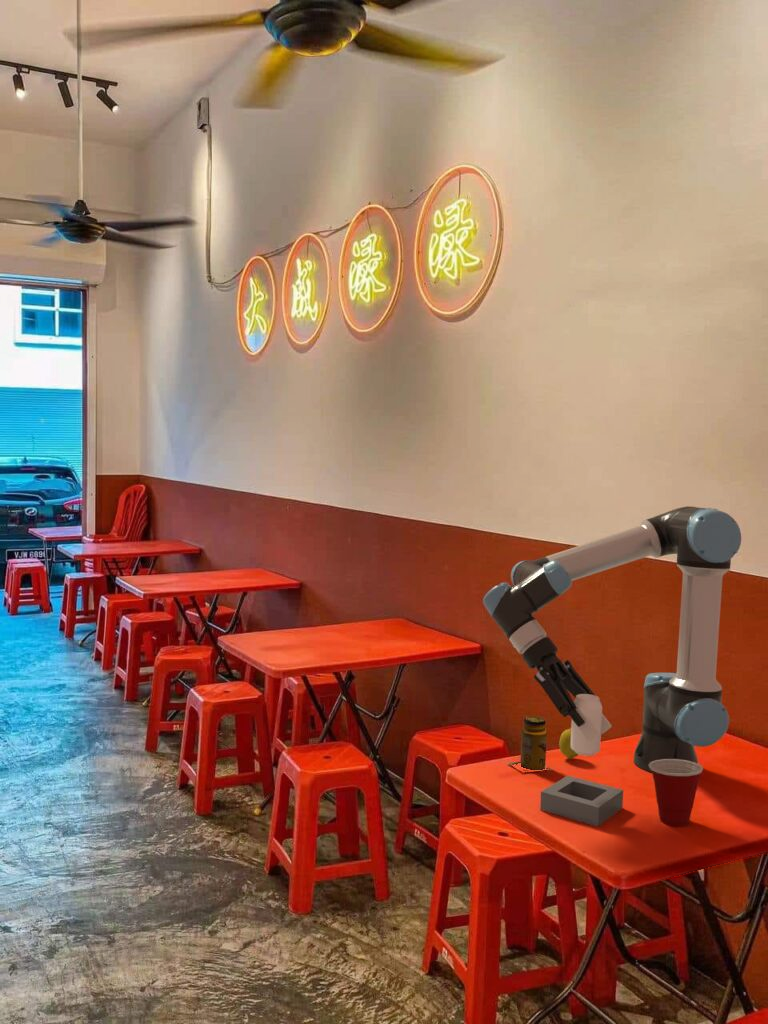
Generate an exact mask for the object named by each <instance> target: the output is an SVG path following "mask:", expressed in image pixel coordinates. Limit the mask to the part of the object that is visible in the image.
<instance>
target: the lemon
mask: <svg viewBox="0 0 768 1024" xmlns="http://www.w3.org/2000/svg"><path fill="white" fill-rule="evenodd" d="M558 743H559V745H558V746H559V750H560V752H561V754H562V755H563V756H565V757H566V758H567V759H568V760H572V759H573V758H576V757H577V756H578V755H579V754H577V753H576V752H575V751H574V750H572V749H571V727H570V728H568V729H565V730H564V731H563V732H562V733H561V735H560V738H559V741H558Z"/></svg>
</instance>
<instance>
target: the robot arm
mask: <svg viewBox="0 0 768 1024" xmlns="http://www.w3.org/2000/svg"><path fill="white" fill-rule="evenodd" d="M741 544H742V532H741V528H740V525H739V524H738V522H737V521H736V520H735V518H734V517H732V516H731V515H730V514H728V513H727V512H725V511H723V510H722V511H721V510H719V509H717V508H711V507H708V508H707V507H706V508H705V507H698V506H689V505H688V506H682V507H678V508H675V509H672V510H669V511H667V512H664V513H661V514H658V515H655V516H653V517H650V518H647V519H644V520H642V522H641V524H640V525H638V526H635V527H632V528H629V529H626V530H625V531H621V532H617V533H614V534H611V535H608V536H605V537H603V538H602V537H601V538H600V539H596V540H593V541H590V542H586V543H584V544H580V545H577V546H574V547H571V548H569V549H565V550H562V551H559V552H556V553H553V554H549V555H547V556H544V557H541V558H538V559H534V560H521V561H519V562H517V563H516V564H515V565H514V566H513V567H512V568H511V573H510V579H511V583H512V585H513V586H512V585H510V584H509V583H508V582H501V583H499V584H498V585H495V586H494V587H492V588H491V589H490V590H489V591H487V593H486V594H485V595H484V597H483V599H482V603H483V606H484V607H485V609H486V611H487V612H488V613H489V615H490V616H491V619H493V620H494V622H495V623H496V625H497V627H499V628H500V630H501V631H502V633H503V634H504V636H506V638H507V639H508V640H509V641H510V643H511V644H512V647H513V648H514V649H516V651H517V652H518V653H519V654H521V656H522V657H521V658H522V660H523V661H524V663H526V665H527V666H528V668H530V670H534V669H536V670H537V672H536V674H535V675H533V678H534V679H535V681H536V682H537V683H538V684H539V685H540V686H541V687H542V689H543V691H544V692H545V694H546V696H548V698H549V699H550V700H551V702H552V703H553V705H554V707H555V708H556V709H557V711H558V712H559V714H560V715H562V716H563V717H564V718H567V717H568V716H569V717H570V719H571V721H572V720H573V721H574V723H575V724H576V725H577V727H578V728H579V729H580V731H581V732H582V733H583V735H584V736H585V737H586V739H587V740H588V741H590V740H592V739H593V738H594V737H595V736H597V735H598V734H599V733H598V731H597V730H596V729H595V727H594V726H593V725H592V723H591V722H590V721H589V719H588V718H587V717H586V715H585V714H584V713H583V712H582V711H581V709H580V708H578V709H576V706H575V704H574V699H576V695H579V694H591V695H595V696H596V694H595V693H594V691H593V690H591V688H590V687H589V686H588V684H587V683H586V682H585V681H584V679H583V678H582V677H581V676H580V675H579V674H578V672H577V670H576V669H575V668H574V667H573V665H572V664H571V661H570V660H569V659H567V660H565V661H564V662H562V660H561V659H559V657H558V656H557V655H556V654H557V652H558V650H559V649H558V646H557V645H556V644H555V642H553V640H552V639H551V638H550V637H548V636H547V632H546V631H545V629H544V628H543V627H542V626H541V624H540V623H539V622H538V621H537V619H536V618H535V617H534V616H533V614H535V613H536V612H538V611H539V610H541V609H542V608H544V607H545V606H547V605H548V604H549V603H551V602H552V601H554V600H556V599H557V598H558V597H560V596H562V595H563V594H564V593H565V592H566V591H568V590H569V589H570V588H571V587H572V585H573V581H576V580H579V579H582V578H585V577H587V576H588V577H589V576H591V575H594V574H597V573H601V572H603V571H608V570H610V569H612V568H616V567H619V566H621V565H625V564H629V563H631V562H635V561H638V560H640V559H644V558H646V557H649V556H651V557H653V558H656V559H658V558H660V557H663V556H668V555H669V556H670V555H677V556H676V567H677V568H679V569H680V571H681V572H682V583H681V599H680V613H679V615H680V616H679V617H680V618H679V627H678V628H679V630H678V631H679V632H678V646H677V647H678V648H677V663H676V672H675V673H674V672H651V673H648V674H647V675H646V677H644V678H645V680H644V685H643V689H644V690H643V707H642V708H643V711H642V717H643V718H642V731H641V735H640V737H639V740H638V742H637V745H636V747H635V750H634V752H633V762H634V765H636V766H637V767H638V768H640V769H642V770H645V771H647V772H650V773H652V771H651V769H650V768H649V764H650V762H653V761H655V760H661V759H679V760H687V761H691V762H695V763H697V764H699V760H698V756H697V753H696V749H695V747H698V748H699V747H701V748H703V747H709V746H712V745H714V744H716V743H718V741H719V740H721V739H722V738H723V737H724V736H725V734H726V732H727V731H728V728H729V725H730V724H729V723H730V716H729V713H728V710H727V709H726V707H725V705H724V704H723V703H722V698H723V697H722V695H723V687H722V685H721V683H720V682H719V681H718V680H717V678H716V677H717V664H718V663H717V662H718V651H719V649H718V648H719V647H718V646H719V633H720V619H721V603H722V602H721V601H722V589H723V587H722V586H723V577H724V575H725V574H727V572H729V571H730V570H731V564H732V563H731V562H732V558H733V557H734V556H735V555H736V554H737V553H738V552H739V549H740V548H741ZM570 694H571V695H572V696H573V697H574V699H573V698H572V696H571V695H570ZM612 727H613V726H612V724H611V723H610V722H609V720H608V719H607V718H606V716H605V715H604V714H603V713H602V723H601V735H604V733H606V732H607V731H609V730H610V729H611V728H612Z"/></svg>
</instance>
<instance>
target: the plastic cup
mask: <svg viewBox="0 0 768 1024" xmlns="http://www.w3.org/2000/svg"><path fill="white" fill-rule="evenodd" d="M649 768H650V769H651V771H652V772H651V774H652V778H653V783H654V791H655V798H656V803H657V808H658V809H657V810H658V816H659V820H660V822H662V823H663V824H666V825H668V826H673V827H685V826H688V824H689V822H690V820H691V815H692V811H693V808H694V803H695V799H696V793H697V791H698V790H697V788H698V785H699V783H700V777H701V774H702V772H703V770H704V767H703V766H702V765H701V764H700V763H698V764H697V763H695V762H691V761H687V760H679V759H661V760H655V761H653V762H650V764H649Z"/></svg>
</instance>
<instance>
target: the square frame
mask: <svg viewBox="0 0 768 1024" xmlns="http://www.w3.org/2000/svg"><path fill="white" fill-rule="evenodd" d="M623 802H624V789H621V788H618V787H615V786H610V785H606V784H602V783H597V782H595V781H590V780H587V779H583V778H579V777H575V776H570V775H566V776H564V777H563V778H561V779H560V780H558V781H557V782H554V783H553V784H551V785H550V786H548V787H546V788H544V789H543V790H541V791H540V808H539V810H540V809H541V810H540V811H542V810H544V811H543V812H545V811H547V812H546V813H549V812H550V813H549V814H552V813H554V814H553V815H556V814H557V815H556V816H559V815H560V817H562V816H564V817H563V818H566V819H569V818H570V820H574V821H577V822H580V823H583V822H584V824H587V825H590V826H593V825H594V826H593V827H597V828H598V827H599V826H601V825H602V824H603V823H605V822H606V821H608V819H610V818H611V817H613V816H614V815H615V814H617V813H618V812H619V811H621V810H622V809H623V806H624V803H623Z"/></svg>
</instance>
